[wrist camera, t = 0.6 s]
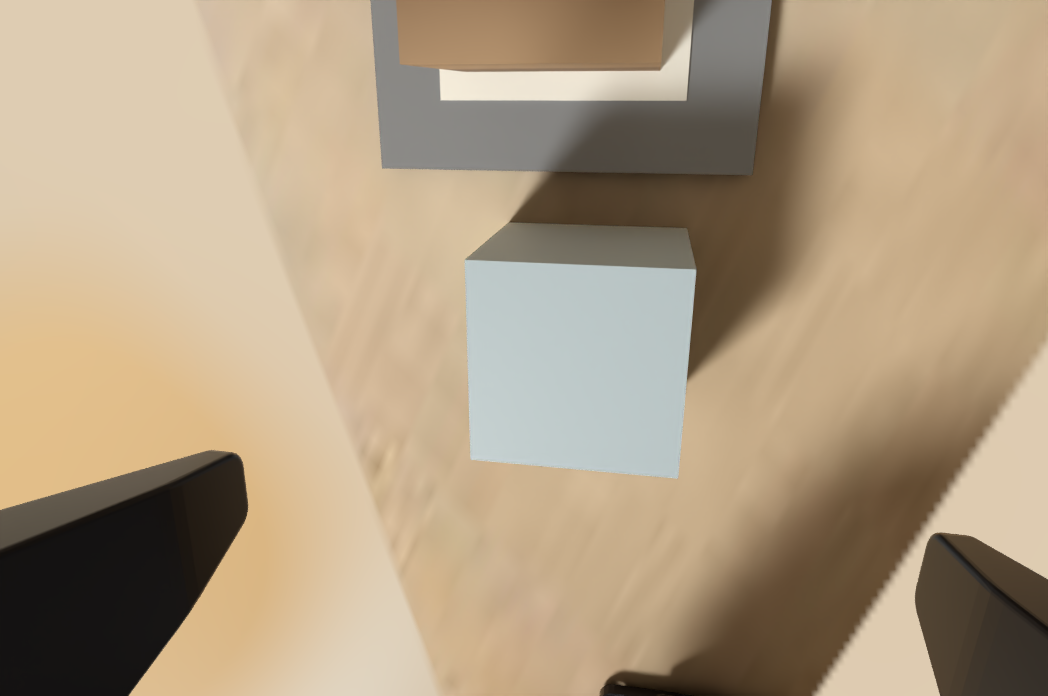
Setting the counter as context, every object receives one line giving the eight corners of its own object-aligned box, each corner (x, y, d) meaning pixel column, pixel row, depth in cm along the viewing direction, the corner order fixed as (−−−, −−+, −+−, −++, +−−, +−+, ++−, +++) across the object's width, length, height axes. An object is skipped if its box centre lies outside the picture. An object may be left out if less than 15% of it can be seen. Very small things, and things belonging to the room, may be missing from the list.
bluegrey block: (673, 393, 21) (677, 478, 16) (510, 381, 22) (470, 459, 17) (686, 227, 19) (696, 269, 14) (509, 222, 20) (464, 259, 15)
